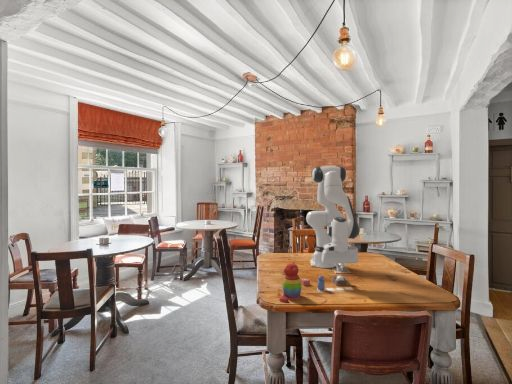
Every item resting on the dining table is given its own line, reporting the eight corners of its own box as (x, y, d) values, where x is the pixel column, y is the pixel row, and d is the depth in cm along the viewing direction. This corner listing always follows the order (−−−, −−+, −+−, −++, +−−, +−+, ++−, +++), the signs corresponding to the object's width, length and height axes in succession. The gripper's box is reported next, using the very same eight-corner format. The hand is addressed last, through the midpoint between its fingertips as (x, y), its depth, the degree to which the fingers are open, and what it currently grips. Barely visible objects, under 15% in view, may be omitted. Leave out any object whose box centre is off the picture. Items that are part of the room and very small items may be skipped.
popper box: (331, 283, 169) (331, 276, 169) (343, 283, 170) (343, 276, 170) (336, 288, 162) (336, 280, 162) (348, 287, 163) (348, 280, 163)
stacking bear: (284, 294, 154) (284, 260, 153) (303, 296, 150) (303, 261, 150) (278, 301, 144) (278, 265, 143) (298, 304, 140) (298, 267, 140)
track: (312, 289, 160) (312, 287, 160) (352, 288, 161) (352, 286, 161) (316, 295, 152) (316, 292, 152) (358, 293, 153) (358, 291, 153)
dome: (334, 282, 168) (334, 274, 168) (342, 282, 168) (342, 274, 168) (337, 285, 164) (337, 277, 164) (345, 285, 164) (345, 276, 164)
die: (300, 286, 166) (300, 278, 166) (306, 285, 167) (306, 278, 167) (303, 288, 162) (303, 280, 162) (310, 287, 163) (310, 280, 163)
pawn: (316, 288, 158) (316, 274, 158) (323, 288, 158) (323, 274, 158) (318, 290, 154) (318, 277, 154) (325, 290, 154) (325, 276, 154)
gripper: (355, 244, 170) (355, 268, 170) (320, 245, 168) (320, 269, 169) (360, 247, 163) (359, 272, 164) (324, 248, 162) (323, 273, 163)
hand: (339, 270), depth 167 cm, fingers closed
